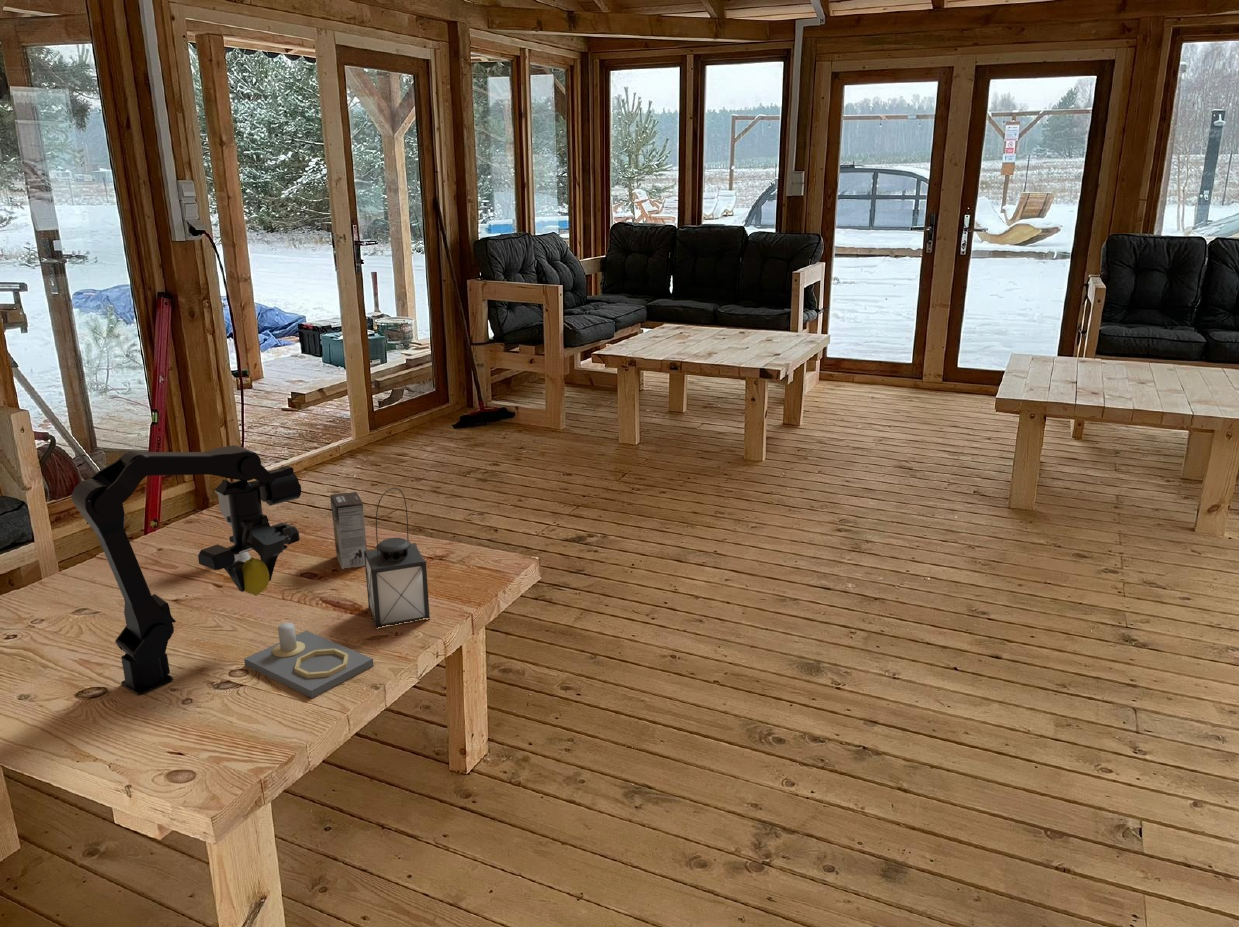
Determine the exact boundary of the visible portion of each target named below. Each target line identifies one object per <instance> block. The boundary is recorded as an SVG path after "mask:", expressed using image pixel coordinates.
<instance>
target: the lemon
mask: <svg viewBox="0 0 1239 927" xmlns="http://www.w3.org/2000/svg"><path fill="white" fill-rule="evenodd" d="M242 572H243V579H244V592H245V593H247V594H250V595H253V596H255V597H257V596H259V595H260V594H261V593H263V592H265V590H266V589H267V588H268V585H269V583H270V581H269V571H268V568H267V566H266V565H265V563H264V562H263V561H261V559H258V558H254V557H251V558H250V559H249V560H247V561H245V564H244V565H243V567H242Z"/></svg>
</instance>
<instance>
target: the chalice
mask: <svg viewBox="0 0 1239 927" xmlns="http://www.w3.org/2000/svg"><path fill="white" fill-rule="evenodd" d="M215 494H216V495H217V497H218V498H217V499H218V506H219V511H220V513H221V514H222V516H223V518H224V519H225V521H226V522H227V517H228V516H230V508H229V500H228V495H226V496H224V495H222V494H220V493H218V492H216V491H215ZM227 523H228V525H229V526H230V527H232V524H231V523H230V522H227ZM250 557H251V558H252V556H251V555H250V553H249V551H247V552H244V553H241V554H239V559H240V561H242V562H244V561H246V560H249V559H250Z"/></svg>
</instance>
